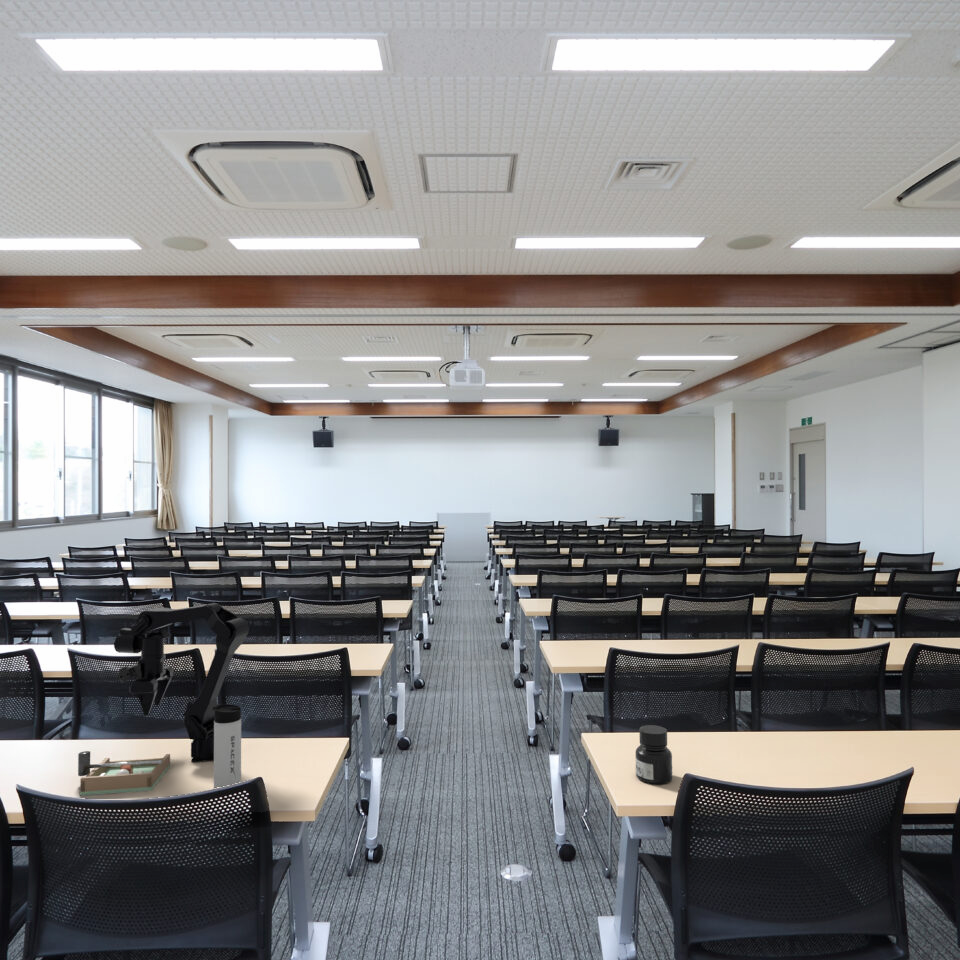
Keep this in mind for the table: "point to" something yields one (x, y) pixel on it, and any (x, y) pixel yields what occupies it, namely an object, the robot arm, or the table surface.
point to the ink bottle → (653, 756)
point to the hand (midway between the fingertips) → (152, 709)
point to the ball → (122, 772)
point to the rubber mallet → (106, 764)
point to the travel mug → (227, 745)
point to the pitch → (124, 777)
